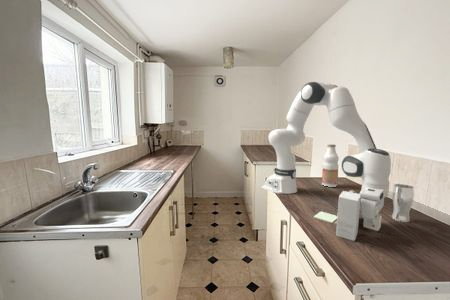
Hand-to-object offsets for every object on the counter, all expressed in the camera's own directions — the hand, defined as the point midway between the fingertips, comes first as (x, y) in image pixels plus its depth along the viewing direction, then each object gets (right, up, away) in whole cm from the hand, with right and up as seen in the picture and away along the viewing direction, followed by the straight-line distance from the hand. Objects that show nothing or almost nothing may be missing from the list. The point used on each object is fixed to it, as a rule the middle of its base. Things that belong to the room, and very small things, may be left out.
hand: (372, 222), depth 86 cm
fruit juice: (+11, +5, +57) cm, 58 cm away
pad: (-14, -1, +9) cm, 17 cm away
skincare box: (-13, -3, -5) cm, 15 cm away
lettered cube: (0, -2, 0) cm, 2 cm away
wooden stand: (-8, -1, +5) cm, 9 cm away
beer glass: (+17, -1, +7) cm, 18 cm away
